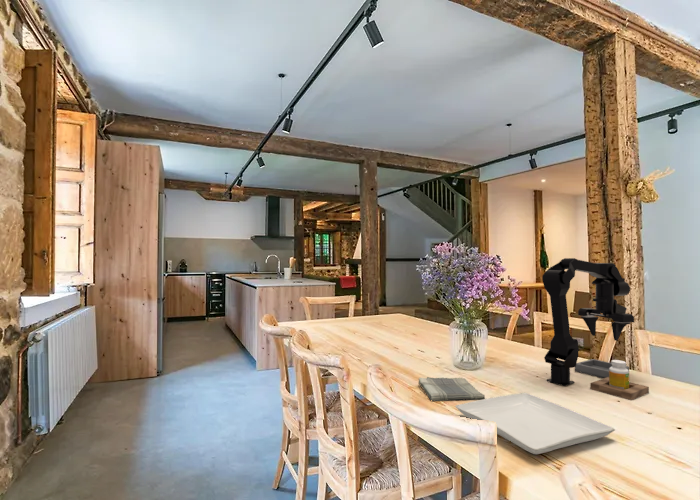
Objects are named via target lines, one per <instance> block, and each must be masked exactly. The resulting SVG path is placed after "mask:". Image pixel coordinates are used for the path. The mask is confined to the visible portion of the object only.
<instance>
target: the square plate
mask: <svg viewBox="0 0 700 500" xmlns="http://www.w3.org/2000/svg"><path fill="white" fill-rule="evenodd" d="M454 407H455V408H456V409H457V410H458V411H459V412H460V413H461V414H462V415H463V416H465V417H466V418H468V419H470V418H472V419H477V420H489V421H494V422H496V424H497V434H496V435H498V436H501V438H503V439H505V440H506V441H509V442H510V441H511V442H510V443H512V444H514V445H516V446H518V447H520V448H521V449H522V450H525V451H527V452H528V453H531V454H533V455H539V454H543V453H548V452H551V451H554V450H557V449H558V450H559V449H562V448H567V447H569V446H573V445H578V444H583V443H587V442H590V441H594V440H597V439H598V440H599V439H601V438H605V437H606V436H608V435H610V434H612V433H613V432H614V431H616V429H615V428H614V427H612V426H610V425H608V424H605V423H603V422H601V421H598V420H596V419H594V418H591V417H589V416H587V415H585V414H582V413H580V412H577V411H574V410H572V409H570V408H567V407H565V406H562V405H560V404H557V403H555V402H553V401H550V400H546V399H544V398H541V397H539V396H536V395H533V394H530V393H528V392H518V393H513V394H506V395H499V396H493V397H488V398H485V399H483V400H472V401H469V402H466V403H465V402H464V403H459V404H456V405H455V406H454ZM472 419H471V420H472Z"/></svg>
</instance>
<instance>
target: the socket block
mask: <svg viewBox="0 0 700 500" xmlns="http://www.w3.org/2000/svg"><path fill="white" fill-rule="evenodd" d="M589 384H590V385H589V387H590V390H593V391H597V392H600V393H604V394H607V395H612V396H615V397H619V398H622V399H625V400H629V401H633V400H636V399H638V398H641V397H642V396H645V395H647V394H649V393H650V388H649V386H646V385H643V384H639V383H635V382H631V381H629V388H628V389H622V388H618V387H614V386H610V385H609V377H607V378H604V379H603V378H600V379H599V380H595V381H593V382H592V381H591V382H590V383H589Z"/></svg>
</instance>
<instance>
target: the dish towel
mask: <svg viewBox="0 0 700 500" xmlns="http://www.w3.org/2000/svg"><path fill="white" fill-rule="evenodd" d="M418 384H419V385H420V387H421V388H422V389H423V391H424V392H425V394H426V395H427V397H428V398H429V399H430V401H431V400H432V401H431V402H449V401H450V402H451V401H478V400H483V399H486V397H485V394H483V393H482V392H481V391H480V390H478V389H476V387H474V385H472V384H471V383H470V382H469V381H468V380H467V379H466V378H465V377H450V378H449V377H428V376H427V377H419V378H418Z"/></svg>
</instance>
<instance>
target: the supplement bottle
mask: <svg viewBox="0 0 700 500" xmlns="http://www.w3.org/2000/svg"><path fill="white" fill-rule="evenodd" d="M610 363H611V364H612V367H610V368H609V385H610V386H614V387H618V388H622V389H628V388H629V382H630V370H629V371H628V369H626V368H625V367H626V366H627V362H626V361H624V360H619V359H612V360H611V361H610Z"/></svg>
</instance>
